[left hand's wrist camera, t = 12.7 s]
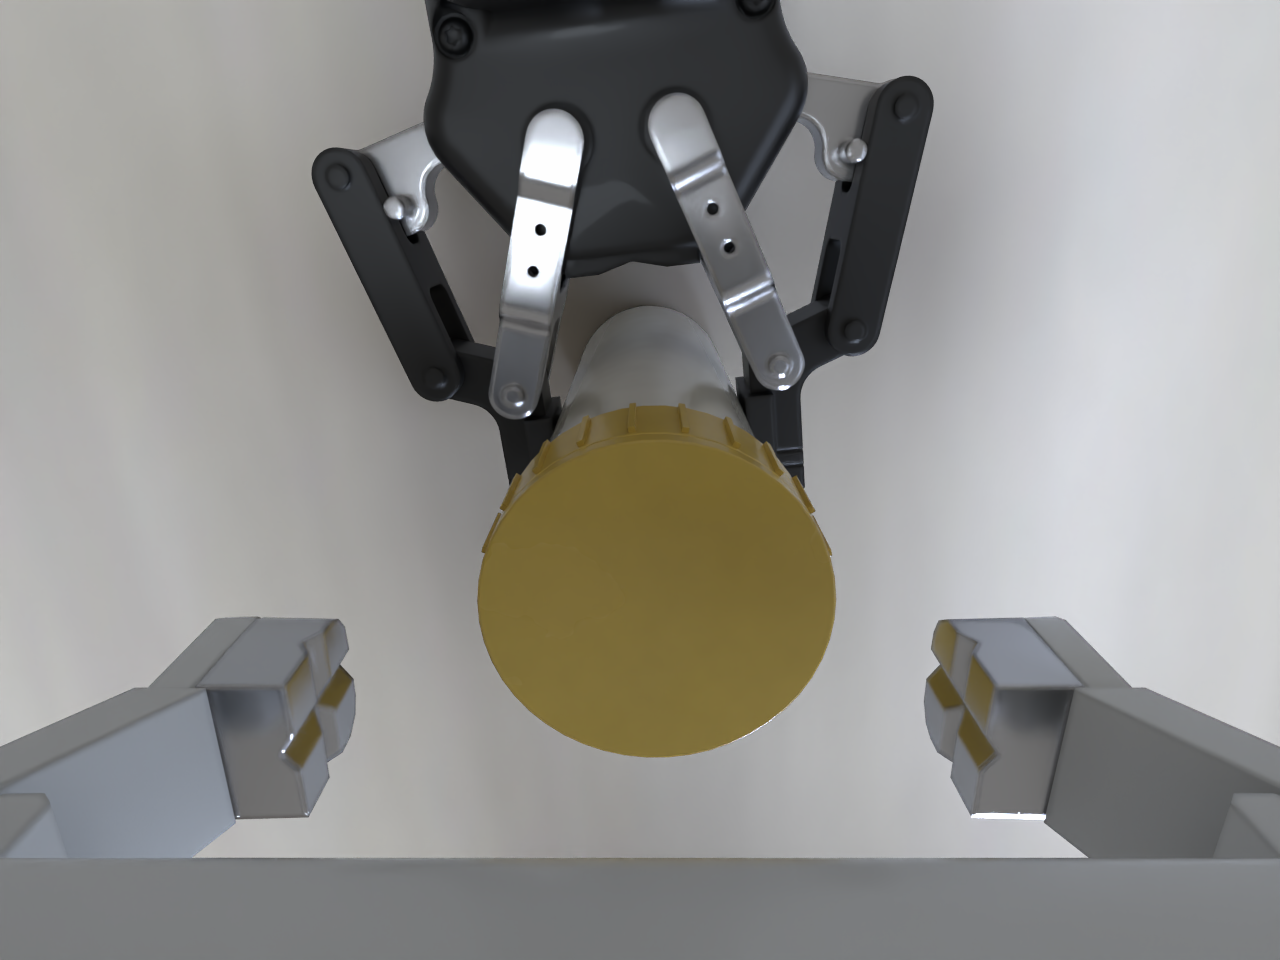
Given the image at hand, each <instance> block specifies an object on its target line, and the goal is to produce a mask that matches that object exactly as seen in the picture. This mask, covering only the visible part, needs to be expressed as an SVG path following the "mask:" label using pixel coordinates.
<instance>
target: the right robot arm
mask: <svg viewBox="0 0 1280 960" xmlns="http://www.w3.org/2000/svg"><path fill="white" fill-rule="evenodd" d="M425 4H426V9H427V15H428V20H429V26H430V31H431V37H432V42H433V50H434V69H433V77H432V82H431V87H430V90H429V93H428V96H427V99H426V103H425V107H424V122H423V123H420V124H418V125H416V126H413V127H411V128H409V129H407V130H404V131H402V132H400V133H397V134H395V135H393V136H391V137H388V138H386V139H384V140H381V141H379V142H377V143H375V144H372V145H370V146H368V147H365V148H363V149H361V150H351V149H344V148H329V149H326V150H324V151H323V152H321V153H320V154H319V155H318V156H317V157H316V159H315V161H314V163H313V166H312V180H313V184H314V186H315V189H316V191H317V193H318V195H319V197H320V199H321V201H322V203H323V205H324V207H325V209H326V211H327V213H328V215H329V217H330V219H331V221H332V223H333V225H334V227H335V229H336V231H337V233H338V235H339V237H340V240H341V242H342V244H343V246H344V248H345V250H346V252H347V254H348V256H349V258H350V260H351V262H352V264H353V266H354V268H355V270H356V272H357V274H358V276H359V278H360V280H361V282H362V284H363V286H364V288H365V290H366V293H367V295H368V297H369V299H370V301H371V303H372V305H373V307H374V309H375V311H376V313H377V315H378V317H379V319H380V321H381V323H382V325H383V327H384V329H385V331H386V333H387V335H388V337H389V339H390V341H391V344H392V346H393V348H394V350H395V352H396V354H397V356H398V358H399V360H400V362H401V364H402V366H403V368H404V370H405V372H406V374H407V376H408V378H409V380H410V382H411V384H412V386H413V388H414V390H415V391H416V392H417V393H418V394H419V395H420V396H421V397H423V398H425V399H427V400H430V401H436V402H439V401H444V400H447V399H453V400H457V401H461V402H466V403H470V404H474V405H477V406H480V407H482V408H484V409H485V410H487V411H488V412H489V413H490V414H491V415H492V416H493V417H494V419H495V420H496V422H497V424H498V427H499V430H500V435H501V441H502V446H503V452H504V457H505V463H506V468H507V474H508V479H509V485H510V484H511V482H512V480H513V478H514V476H515V474H516V473H517V474H519V475H521V474H522V473H523V471H524V470H525V469H526V467H527V466H528V465H529V463H530V462H531V461H532V460H533V458H534V457H535V456H536V455H537V454H538V453H539V451H540V449H541V446H542V444H543V442H545V441H546V440H547V439H548V440H549V441H550V440H551V438H552V435H553V432H554V430H555V427H556V424H557V422H558V419H559V416H560V414H561V411H562V407H561V400H560V397H551V393H550V387H549V379H550V374H551V369H552V363H553V358H554V353H555V348H556V343H557V337H558V332H559V327H560V322H561V317H562V313H563V310H564V306H565V302H566V297H567V292H568V287H569V282H570V278H575V277H583V276H592V275H599V274H602V273H604V272H606V271H609V270H611V269H614V268H616V267H619V266H621V265H624V264H626V263H628V262H641V263H647V264H654V265H661V266H676V265H684V264H692V263H700V261H701V263H702V265H703V267H704V270H705V272H706V274H707V276H708V279H709V281H710V283H711V285H712V287H713V289H714V292H715V294H716V296H717V298H718V300H719V302H720V304H721V306H722V309H723V311H724V313H725V315H726V318H727V320H728V322H729V324H730V327H731V329H732V331H733V333H734V336H735V338H736V340H737V342H738V344H739V347H740V349H741V351H742V359H743V373H744V377H736V390H737V398H738V400H739V403H740V405H741V407H742V409H743V412H744V414H745V416H746V419H747V421H748V423H749V425H750V428H751V430H752V432H753V434H754V437H755V438H756V439H757V440H759V441H760V442H761V443H763V444H764V443H765V442H766V441H767V442H768V443H769V444H770V445H771V447H772V449H773V451H774V453H775V455H776V457H777V458H778V459H779V461H780V462H781V463H782V465H783V466H784V467H785V469H786V470H787V471H788V472H789V474H790V475H791V477H794V476H797V477H798V479H799V481H800V483H801V485H802V487H803V488H804V487H805V483H804V466H803V449H802V448H803V443H802V422H801V402H800V394H801V389H802V386H803V383H804V381H805V380H806V378H807V377H808V375H809V374H810V373H811V372H812V371H814V370H815V369H816V368H818V367H820V366H822V365H824V364H826V363H828V362H830V361H832V360H834V359H837V358H839V357H841V356H843V355H846V356H858V355H861V354H864V353H866V352H867V351H869V350H870V349H871V348H872V347H873V346H874V345H875V343H876V342H877V340H878V337H879V334H880V330H881V326H882V322H883V318H884V313H885V309H886V305H887V301H888V297H889V293H890V288H891V284H892V280H893V276H894V272H895V267H896V263H897V259H898V255H899V251H900V246H901V242H902V238H903V234H904V230H905V226H906V221H907V217H908V213H909V209H910V205H911V200H912V196H913V192H914V188H915V184H916V179H917V175H918V171H919V167H920V163H921V159H922V154H923V150H924V146H925V142H926V138H927V133H928V129H929V125H930V121H931V117H932V112H933V107H934V100H933V95H932V92H931V90H930V88H929V86H928V85H927V84H926V83H925V82H924V81H923V80H921V79H920V78H917V77H914V76H903V77H899V78H897V79H892V80H889V81H886V82H884V83H873V82H867V81H860V80H853V79H847V78H840V77H834V76H827V75H821V74H814V73H807V69H806V65H805V62H804V60H803V57H802V55H801V53H800V52H799V50H798V48H797V47H796V45H795V44H794V42H793V40H792V38H791V36H790V34H789V32H788V30H787V27H786V25H785V22H784V18H783V15H782V10H781V5H780V0H425ZM796 122H799V123H801V124H803V125H804V126H805V127H806V128H807V129H808V130H809V131H810V133H811V134H812V136H813V139H814V143H815V155H814V158H815V164H816V167H817V169H818V170H819V172H820V173H821V174H822V175H823V176H824V177H825V178H827V179H829V180H832V181H836V183H835V188H834V193H833V198H832V202H831V207H830V212H829V217H828V222H827V227H826V232H825V236H824V241H823V246H822V251H821V256H820V261H819V265H818V270H817V275H816V280H815V285H814V290H813V295H812V299H811V303H810V304H808V305H806V306H804V307H802V308H800V309H798V310H796V311H794V312H792V313H790V314H788V315H786V313H785V311H784V309H783V306H782V304H781V301H780V299H779V297H778V294H777V292H776V289H775V284H774V281H773V278H772V275H771V272H770V270H769V267H768V265H767V263H766V260H765V258H764V256H763V253H762V251H761V248H760V246H759V244H758V241H757V239H756V237H755V234H754V232H753V229H752V227H751V225H750V222H749V220H748V218H747V215H746V213H745V211H746V209H747V207H748V205H749V204H750V202H751V200H752V198H753V197H754V195H755V193H756V191H757V190H758V188H759V186H760V185H761V183H762V181H763V179H764V178H765V176H766V174H767V172H768V171H769V169H770V167H771V165H772V164H773V162H774V160H775V159H776V157H777V155H778V153H779V152H780V150H781V148H782V146H783V145H784V143H785V141H786V139H787V138H788V136H789V134H790V132H791V131H792V129H793V127H794V126H795V124H796ZM444 167H446V168H447V170H448V171H449V172H450V173H451V174H452V175H453V176H454V177H455V178H456V179H457V180H458V181H459V182H460V184H461V185H462V186H463V187H464V188H465V189H466V190H467V191H468V192H469V193H470V194H471V195H472V196H473V197H474V199H475V200H476V201H477V202H478V203H479V204H480V205H481V206H482V207H483V208H484V209H485V210H486V211H487V212H488V214H489V215H490V216H491V217H492V218H493V219H494V220H495V221H496V222H497V223H498V224H499V225H500V226H501V227H502V229H503V230H504V231H505V232H506V233H507V234H508V235H509V236H510V237H511V239H510V245H509V252H508V258H507V264H506V270H505V276H504V282H503V288H502V294H501V300H500V308H499V317H500V325H499V332H498V338H497V344H496V348H495V347H491V346H487V345H483V344H479V343H475V342H474V340H473V337H472V335H471V333H470V331H469V329H468V326H467V324H466V322H465V320H464V318H463V315H462V313H461V311H460V309H459V307H458V304H457V302H456V300H455V298H454V296H453V293H452V291H451V289H450V287H449V285H448V282H447V280H446V278H445V276H444V274H443V271H442V269H441V267H440V265H439V263H438V260H437V258H436V256H435V254H434V252H433V249H432V247H431V245H430V243H429V241H428V238H427V236H426V234H425V232H424V231H426V230H428V229H429V228H430V227H431V226H432V225H433V224H434V223H435V221H436V219H437V215H438V203H437V199H436V196H435V181H436V178H437V176H438V174H439V173H440V171H441V170H442V169H443V168H444Z"/></svg>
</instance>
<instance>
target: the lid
mask: <svg viewBox="0 0 1280 960" xmlns="http://www.w3.org/2000/svg"><path fill="white" fill-rule="evenodd" d="M500 509H501V510H503V511H502V514H501V513H498V514H497V517H496V519H495V521H494V523H493V525H492V528H491V530H490V532H489V534H488V536H487V539H486V541H485V543H484V545H483V548H482V553H485V555H484V557H483V561H482V565H481V570H480V575H479V580H478V596H477V604H478V615H479V623H480V627H481V632H482V636H483V640H484V643H485V646H486V648H487V651H488V653H489V656H490V658H491V661H492V663H493V664H494V666H495V668H496V670H497V671H498V673H499V675H500V677H501V678H502V680H503V681H504V683H505V684H506V685H507V687H508V688H509V689H510V691H511V692H512V693H513V694H514V696H515V697H516V698H517V699H518V700H519V701H520V702H521V703H522V704H523V705H524V706H525V707H526V708H527V709H528V710H529V711H530V712H531V713H533V714H534V715H535V716H536V717H538V718H539V719H540V720H542V721H543V722H544V723H545V724H547V725H549V726H550V727H552V728H553V729H555V730H557V731H558V732H560V733H562V734H563V735H565V736H567V737H570V738H572V739H574V740H576V741H578V742H580V743H582V744H585V745H588V746H591V747H594V748H597V749H600V750H603V751H608V752H612V753H617V754H622V755H628V756H638V757H674V756H683V755H691V754H695V753H700V752H704V751H709V750H712V749H715V748H718V747H721V746H724V745H727V744H730V743H732V742H734V741H736V740H738V739H741V738H743V737H745V736H747V735H749V734H751V733H753V732H754V731H756V730H757V729H759V728H761V727H762V726H764V725H765V724H767V723H769V722H770V721H771V720H772V719H774V718H775V717H776V716H777V715H778V714H780V713H781V712H782V711H783V710H785V709H786V708H787V707H788V706H789V705H790V704H791V703H792V701H793V700H794V699H795V698H796V697H797V696H798V695H799V694H800V693H801V692H802V690H803V689H804V688H805V686H806V685H807V684H808V682H809V681H810V680H811V678H812V677H813V675H814V673H815V671H816V669H817V668H818V666H819V664H820V662H821V660H822V658H823V656H824V653H825V651H826V648H827V645H828V643H829V640H830V636H831V632H832V628H833V624H834V619H835V607H836V588H835V576H834V572H833V567H832V562H831V558H830V556H832V552H831V549H830V547H829V545H828V543H827V541H826V539H825V537H824V535H823V533H822V531H821V529H820V527H819V525H818V524H817V522H816V520H815V518H814V516H812V515H811V513H813V512H815V509H814V507H813V505H812V504H811V502H810V500H809V498H808V496H807V494H806V492H805V490H804V488H803V487H802V485H801V483H800V481H799V479H798V477H797V476H794V477H791V475H790V474H789V472H788V471H787V470H786V469H785V467H784V466H783V465H782V463H781V462H780V461H779V459H778V458H777V457H776V455H775V453H774V451H773V449H772V447H771V445H770V444H769V443H768V442H767V441H766V442H765V443H764V444H763V443H761V442H760V441H759V440H757V439H756V438H754V437H753V436H752V435H750V434H749V433H748V432H746V431H745V430H743V429H741V428H739V427H737V426H736V425H734V424H733V421H732V419H731V418H729V417H727V416H726V417H725V419H721V418H719V417H716V416H713V415H711V414H708V413H705V412H701V411H697V410H693V409H689V408H686V406H685V404H682V403H679V404H678V407H674V406H666V405H659V406H637V407H636V403H630V404H629V408H622V409H618V410H615V411H611V412H607V413H604V414H600V415H598V416H595V417H593V418H590V417H589V415H587V416H585V417H583V418H582V422H581V423H579V424H577V425H576V426H574V427H572V428H570V429H569V430H567V431H565V432H563V433H562V434H561V435H559V436H558V437H557V438H555V439H554V440H553V441H552V442H550V441H549V440H548V439H547V440H546V441H545V442H543V444H542V446H541V449H540V451H539V453H538V454H537V455H536V456H535V457H534V458H533V460H532V461H531V462H530V463H529V465H528V466H527V467H526V469H525V470H524V471H523V473H522V474H521V475H519V474H517V473H516V474H515V476H514V478H513V480H512V482H511V484H510V486H509V489H508V491H507V493H506V495H505V497H504V499H503V502H502V504H501V506H500Z"/></svg>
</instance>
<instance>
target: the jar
mask: <svg viewBox="0 0 1280 960" xmlns="http://www.w3.org/2000/svg"><path fill="white" fill-rule="evenodd" d="M630 403H636V407H637V406H659V405H666V406H674V407H678V404H679V403H682V404H685V406H686V408H689V409H693V410H697V411H701V412H705V413H708V414H711V415H713V416H716V417H719V418H721V419H725V417H726V416H727V417H729V418H731V419H732V421H733V424H734V425H736V426H737V427H739V428H741V429H743V430H745V431H746V432H748V433H749V434H750V435H752V436H753V437H754V434H753V432H752V430H751V428H750V425H749V423H748V421H747V419H746V416H745V414H744V412H743V409H742V407H741V405H740V403H739V400H738V398H737V396H736V394H735V391H734V389H733V387H732V385H731V382H730V380H729V378H728V376H727V373H726V371H725V369H724V367H723V364H722V362H721V360H720V358H719V355H718V353H717V351H716V349H715V346H714V344H713V343H712V341H711V339H710V337H709V336H708V335H707V333H706V332H705V331H704V329H703V328H702V327H701V326H700V325H699V324H698V323H696V322H695V321H694V320H692V319H691V318H690V317H688V316H686V315H685V314H683V313H681V312H678V311H676V310H673V309H670V308H666V307H660V306H641V307H635V308H631V309H628V310H625V311H623V312H620V313H618V314H616V315H615V316H613V317H611V318H610V319H608V320H607V321H606V322H605V323H603V324H602V325H601V326H600V327H599V328H598V329H597V330H596V331H595V333H594V334H593V336H592V337H591V338H590V340H589V342H588V344H587V346H586V348H585V350H584V353H583V356H582V358H581V361H580V363H579V366H578V369H577V371H576V374H575V377H574V379H573V382H572V385H571V387H570V390H569V393H568V395H567V398H566V401H565V403H564V406H563V409H562V411H561V414H560V416H559V419H558V422H557V424H556V427H555V430H554V432H553V435H552V438H551V440H550V442H552V441H553V440H554V439H555V438H557V437H558V436H559V435H561V434H562V433H563V432H565V431H567V430H569V429H570V428H572V427H574V426H576V425H577V424H579V423H581V422H582V418H583V417H585V416H587V415H589V417H590V418H593V417H595V416H598V415H600V414H604V413H607V412H611V411H615V410H618V409H622V408H629V404H630ZM754 438H755V437H754Z"/></svg>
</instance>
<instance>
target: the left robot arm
mask: <svg viewBox="0 0 1280 960" xmlns="http://www.w3.org/2000/svg"><path fill="white" fill-rule="evenodd" d="M348 650H349V646H348V641H347V635H346V630H345V626H344V625H343V624H342V623H341V621H340V620H339V619H319V618H267V617H264V618H260V617H225V618H219V619H215V620H214V621H213V622H212V623H211V624H210V625H209V626H208V627H207V628H206V629H205V630H204V631H203V632H202V633H201V634H200V635H199V636H198V637H197V638H196V639H195V640H194V641H193V642H192V643H191V644H190V645H189V646H188V647H187V648H186V649H185V650H184V651H183V653H182V654H181V655H180V656H179V657H178V658H177V659H176V660H175V661H174V662H173V663H172V664H171V665H170V666H169V667H168V668H167V669H166V670H165V671H164V672H163V673H162V674H161V675H160V676H159V677H158V678H157V679H156V680H155V681H154V682H153V683H152V684H151V685H150V686H149V687H148V688H133V689H131V690H129V691H126V692H124V693H122V694H119V695H117V696H115V697H113V698H110V699H108V700H106V701H103V702H101V703H99V704H97V705H94V706H92V707H90V708H88V709H85V710H83V711H81V712H78V713H76V714H74V715H72V716H69V717H67V718H65V719H62V720H60V721H58V722H56V723H53V724H51V725H49V726H46V727H44V728H42V729H40V730H37V731H35V732H33V733H30V734H28V735H26V736H24V737H21V738H19V739H17V740H15V741H12V742H10V743H8V744H5V745H3V746H1V747H0V960H1280V747H1279V746H1277V745H1274V744H1272V743H1270V742H1267V741H1265V740H1263V739H1261V738H1258V737H1256V736H1254V735H1252V734H1249V733H1247V732H1245V731H1242V730H1240V729H1238V728H1236V727H1233V726H1231V725H1229V724H1226V723H1224V722H1222V721H1220V720H1217V719H1215V718H1213V717H1211V716H1208V715H1206V714H1204V713H1201V712H1199V711H1197V710H1195V709H1192V708H1190V707H1188V706H1186V705H1183V704H1181V703H1179V702H1176V701H1174V700H1172V699H1170V698H1167V697H1165V696H1163V695H1161V694H1158V693H1156V692H1154V691H1151V690H1149V689H1147V688H1132V687H1131V686H1130V685H1129V684H1128V683H1127V682H1126V681H1125V680H1124V679H1123V678H1122V677H1121V676H1120V675H1119V674H1118V673H1117V672H1116V671H1115V670H1114V669H1113V668H1112V667H1111V666H1110V665H1109V664H1108V663H1107V662H1106V660H1105V659H1104V658H1103V657H1102V656H1101V655H1100V654H1099V653H1098V652H1097V651H1096V650H1095V649H1094V648H1093V647H1092V646H1091V645H1090V644H1089V643H1088V642H1087V641H1086V640H1085V639H1084V638H1083V637H1082V636H1081V635H1080V634H1079V633H1078V632H1077V631H1076V630H1075V629H1074V628H1073V627H1072V626H1071V625H1070V624H1069V623H1068V622H1067V621H1066V620H1064V619H1061V618H1059V617H1056V616H1055V617H1031V618H987V619H947V620H939V621H938V623H937V625H936V628H935V630H934V633H933V640H932V646H931V650H932V652H933V653H934V655H935V657H936V658H937V660H938V662H939V663H940V665H939V666H938V667H937V668H936V669H935V670H934V672H933V673H932V674H931V675H930V676H929V677H928V678H927V679H926V688H925V697H924V707H925V719H926V725H927V728H928V732H929V735H930V738H931V740H932V743H933V745H934V747H935V749H936V751H937V752H938V753H939V754H941V755H942V756H944V757H945V758H947V759H948V760H950V761H951V762H953V764H952V771H951V777H950V778H951V779H952V781H953V783H954V785H955V787H956V789H957V791H958V793H959V794H960V796H961V798H962V800H963V802H964V804H965V806H966V808H967V809H968V811H969V813H970V815H971V817H979V818H1016V819H1045V820H1044V823H1045V824H1047V825H1048V826H1049V827H1050V828H1052V829H1053V830H1054V831H1055V832H1057V833H1058V834H1059V835H1061V836H1062V837H1063V838H1064V839H1066V840H1067V841H1068V842H1069V843H1071V844H1072V845H1073V846H1075V847H1076V848H1077V849H1078V850H1080V851H1081V852H1082V853H1083V854H1085V855H1086V856H1087V857H1088V858H192V857H193V856H194V855H196V854H197V853H198V852H199V851H201V850H202V849H203V848H205V847H206V846H207V845H208V844H210V843H211V842H212V841H213V840H215V839H216V838H217V837H218V836H220V835H221V834H222V833H224V832H225V831H226V830H227V829H229V828H230V827H231V826H232V825H234V824H235V823H236V821H235V819H263V818H299V817H309V815H310V813H311V811H312V810H313V808H314V806H315V804H316V802H317V800H318V798H319V796H320V794H321V793H322V791H323V789H324V787H325V785H326V783H327V781H328V779H329V771H328V764H327V762H329V761H330V760H332V759H333V758H335V757H336V756H338V755H339V754H341V753H342V752H343V751H344V748H345V746H346V744H347V742H348V740H349V738H350V736H351V732H352V727H353V723H354V718H355V711H356V694H355V686H354V679H353V678H352V677H351V676H350V675H349V674H348V673H347V672H346V670H345V669H344V668H343V667H342V666H341V665H340V663H341V662H342V660H343V658H344V657H345V655H346V653H347V652H348Z"/></svg>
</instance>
